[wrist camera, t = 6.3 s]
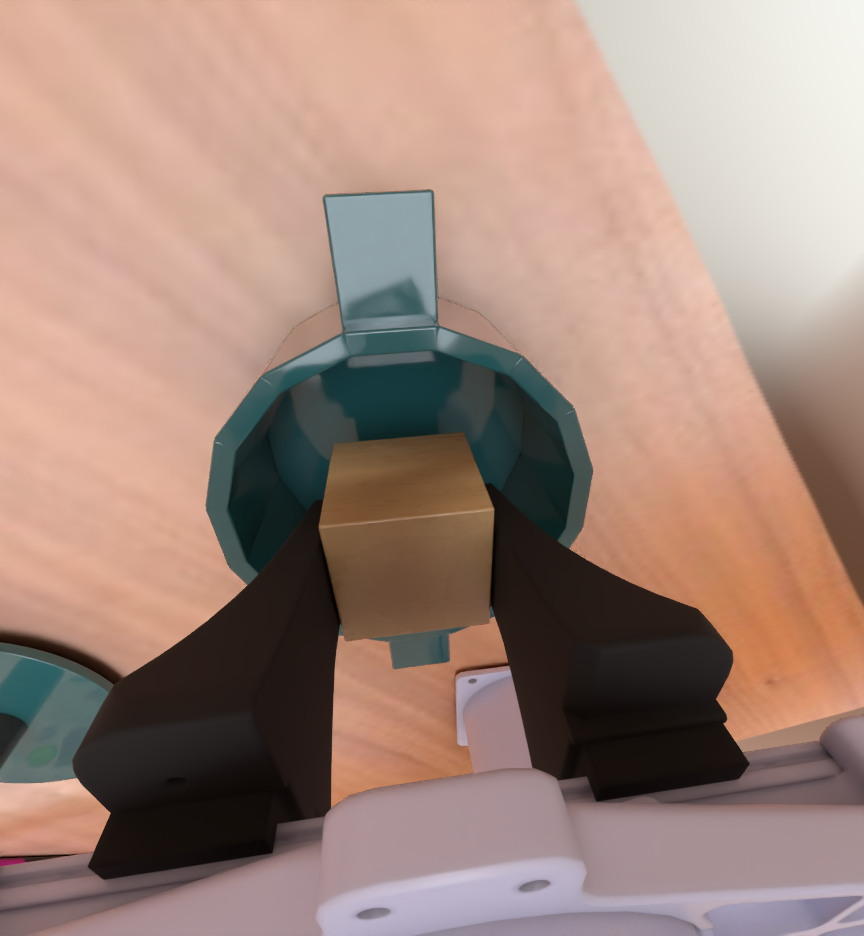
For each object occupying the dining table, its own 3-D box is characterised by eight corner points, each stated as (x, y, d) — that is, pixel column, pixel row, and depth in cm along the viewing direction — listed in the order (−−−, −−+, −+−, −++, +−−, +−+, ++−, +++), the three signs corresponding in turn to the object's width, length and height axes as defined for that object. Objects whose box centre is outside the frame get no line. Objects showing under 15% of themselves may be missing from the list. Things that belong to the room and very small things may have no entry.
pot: (554, 188, 14) (647, 177, 9) (520, 570, 22) (558, 664, 18) (188, 206, 13) (83, 204, 8) (301, 595, 21) (281, 701, 17)
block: (464, 430, 13) (495, 508, 10) (464, 531, 15) (490, 624, 12) (332, 442, 13) (317, 526, 9) (351, 543, 15) (344, 642, 12)
